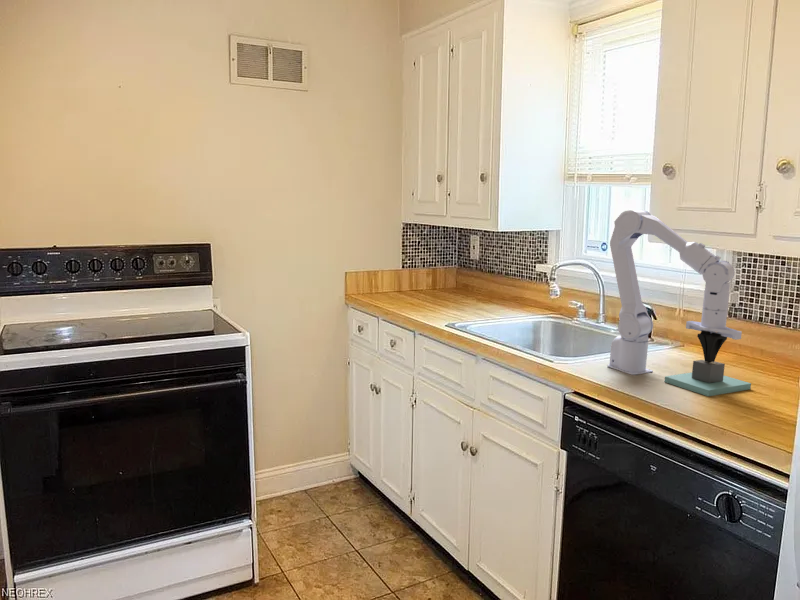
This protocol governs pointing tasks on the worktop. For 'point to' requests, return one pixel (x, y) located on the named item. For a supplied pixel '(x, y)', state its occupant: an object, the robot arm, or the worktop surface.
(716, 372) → the grey drawer cube
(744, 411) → the worktop surface
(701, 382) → the base
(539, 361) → the worktop surface
